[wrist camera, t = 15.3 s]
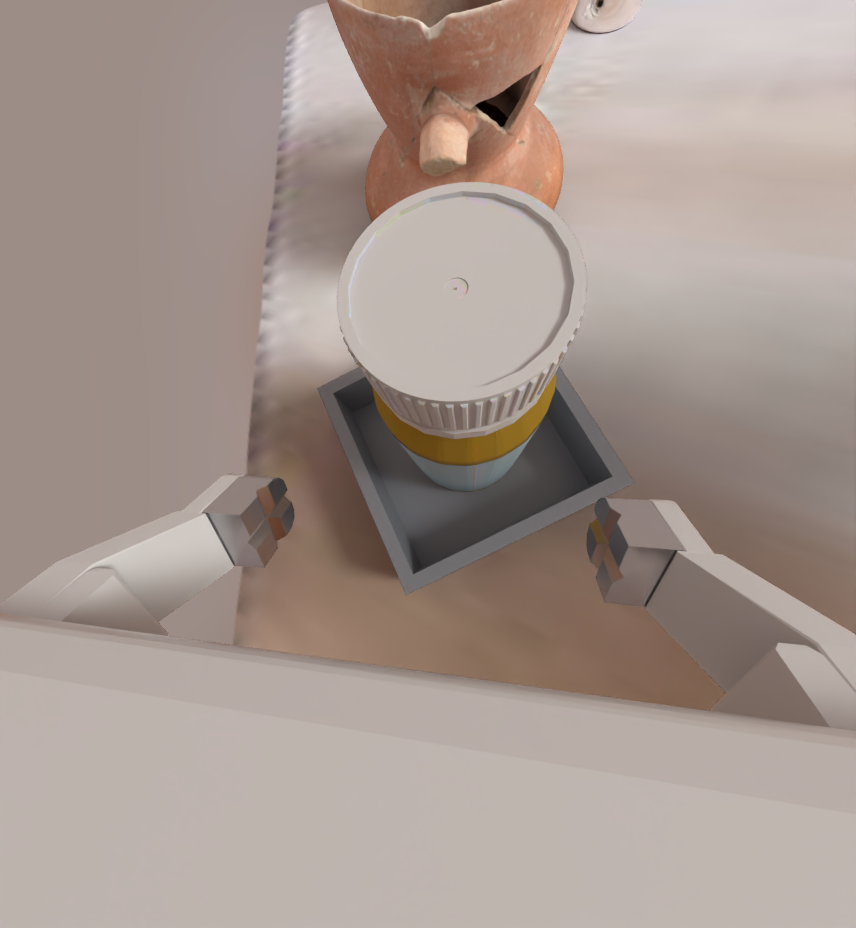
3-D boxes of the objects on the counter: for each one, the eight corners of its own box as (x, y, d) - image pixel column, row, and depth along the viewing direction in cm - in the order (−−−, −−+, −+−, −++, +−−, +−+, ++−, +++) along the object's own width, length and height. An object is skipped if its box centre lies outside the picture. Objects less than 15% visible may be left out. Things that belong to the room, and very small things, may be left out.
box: (601, 492, 22) (634, 483, 17) (418, 582, 22) (406, 594, 18) (502, 332, 25) (510, 290, 21) (343, 412, 25) (317, 388, 21)
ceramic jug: (546, 312, 25) (642, 42, 11) (363, 307, 27) (253, 74, 13) (557, 125, 28) (641, -264, 14) (393, 133, 30) (329, -200, 16)
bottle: (530, 478, 22) (657, 371, 7) (427, 504, 22) (345, 456, 7) (500, 383, 23) (553, 132, 9) (405, 409, 24) (300, 216, 9)
